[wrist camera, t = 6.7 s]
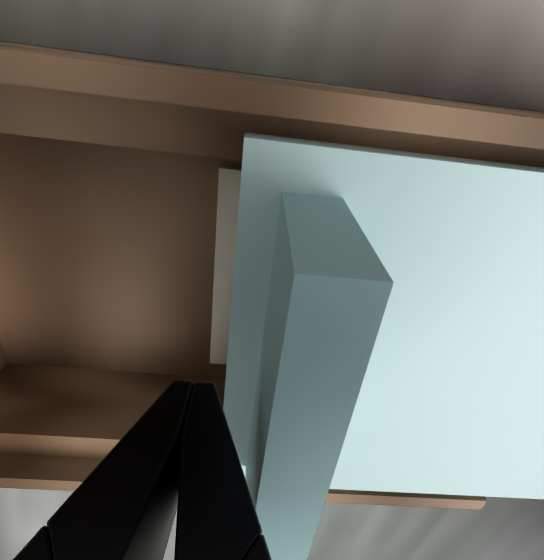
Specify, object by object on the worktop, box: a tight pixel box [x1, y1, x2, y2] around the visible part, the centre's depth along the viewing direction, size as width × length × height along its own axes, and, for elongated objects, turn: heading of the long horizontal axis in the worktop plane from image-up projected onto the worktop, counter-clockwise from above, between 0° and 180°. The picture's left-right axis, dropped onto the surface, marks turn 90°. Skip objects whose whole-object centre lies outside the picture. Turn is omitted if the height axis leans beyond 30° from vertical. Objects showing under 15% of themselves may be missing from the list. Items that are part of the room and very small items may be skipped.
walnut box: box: [0, 41, 544, 510], centre depth 11 cm, size 18×12×5 cm, turn 83°
